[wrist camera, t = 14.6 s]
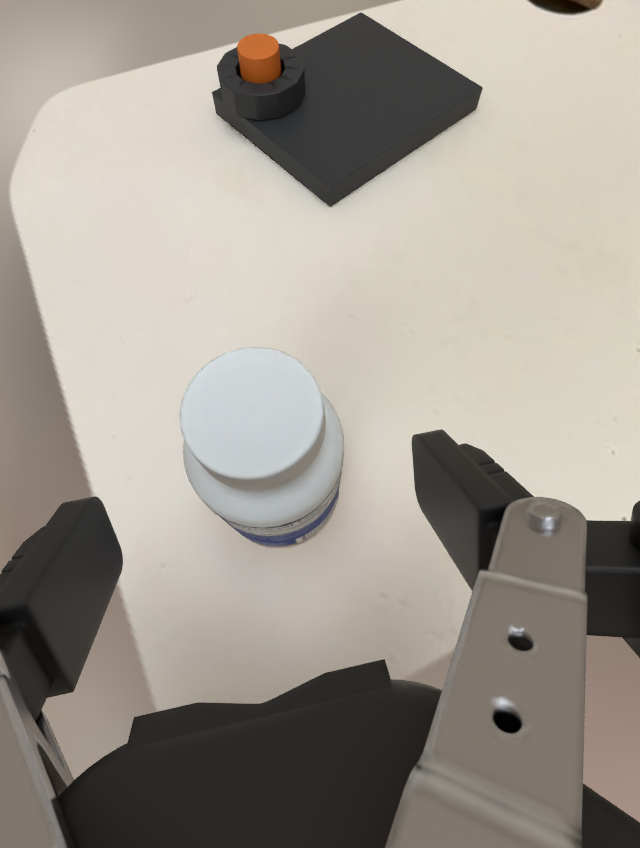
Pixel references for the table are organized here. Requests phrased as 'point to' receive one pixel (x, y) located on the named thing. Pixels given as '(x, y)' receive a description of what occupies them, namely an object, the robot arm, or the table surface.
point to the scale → (345, 105)
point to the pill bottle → (263, 445)
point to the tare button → (259, 58)
